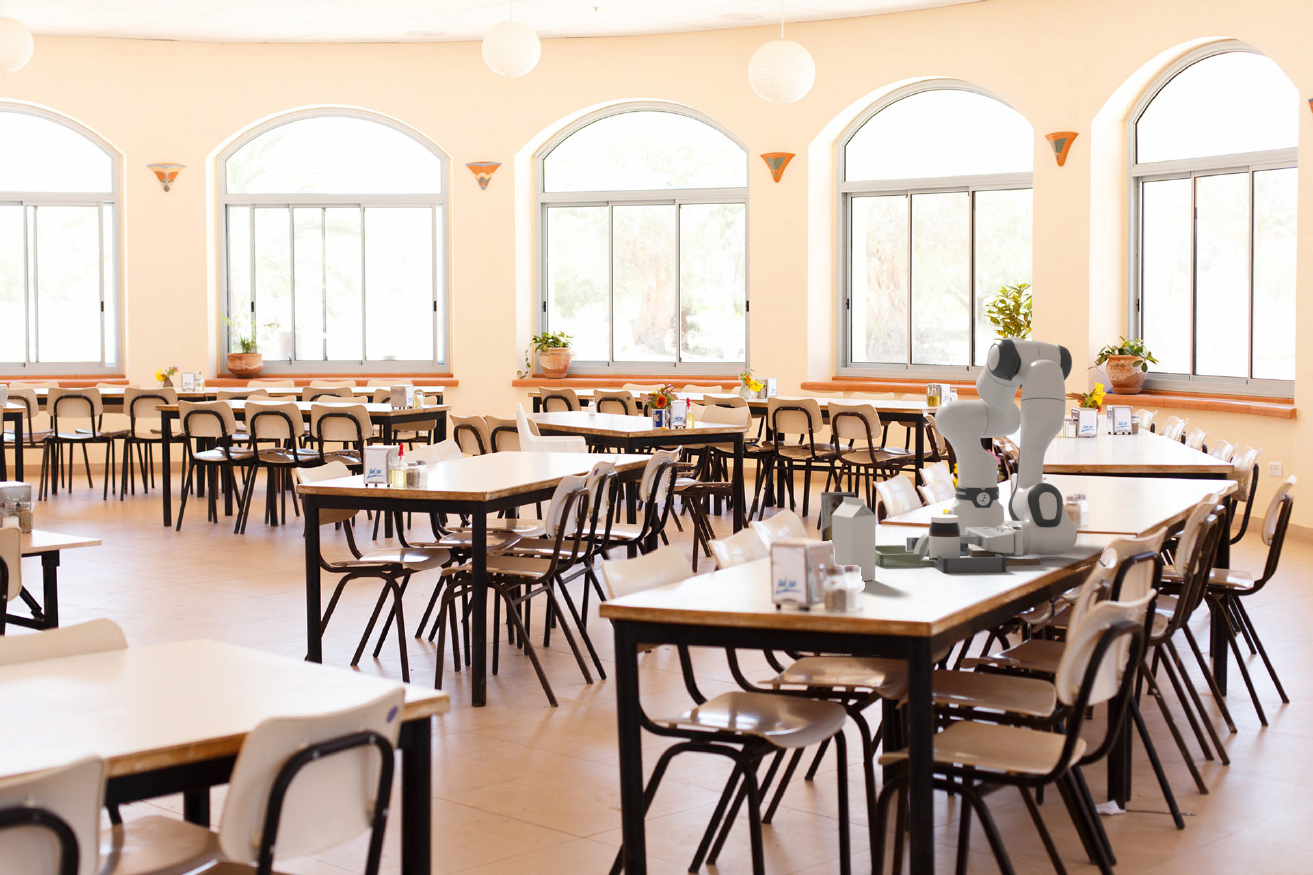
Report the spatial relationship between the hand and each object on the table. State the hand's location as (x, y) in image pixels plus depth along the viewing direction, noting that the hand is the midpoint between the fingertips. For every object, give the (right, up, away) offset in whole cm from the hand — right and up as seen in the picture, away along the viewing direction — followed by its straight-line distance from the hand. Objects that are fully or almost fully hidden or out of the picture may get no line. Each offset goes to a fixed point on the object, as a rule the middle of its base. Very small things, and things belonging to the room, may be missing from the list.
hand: (957, 539), depth 331 cm
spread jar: (-5, -6, -1) cm, 8 cm away
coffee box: (-28, -5, +13) cm, 31 cm away
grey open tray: (-1, -5, +14) cm, 15 cm away
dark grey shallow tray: (0, -6, -14) cm, 15 cm away
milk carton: (-30, -7, -27) cm, 41 cm away
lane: (-1, -5, 0) cm, 6 cm away
